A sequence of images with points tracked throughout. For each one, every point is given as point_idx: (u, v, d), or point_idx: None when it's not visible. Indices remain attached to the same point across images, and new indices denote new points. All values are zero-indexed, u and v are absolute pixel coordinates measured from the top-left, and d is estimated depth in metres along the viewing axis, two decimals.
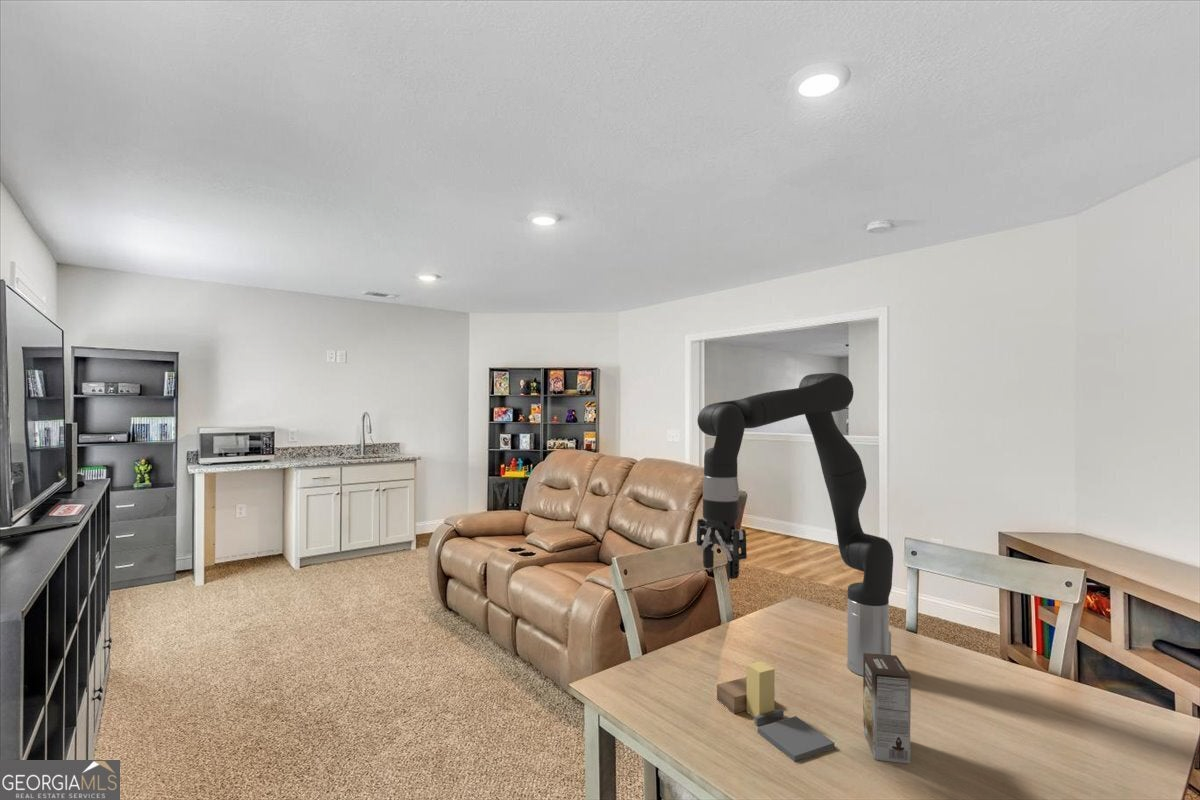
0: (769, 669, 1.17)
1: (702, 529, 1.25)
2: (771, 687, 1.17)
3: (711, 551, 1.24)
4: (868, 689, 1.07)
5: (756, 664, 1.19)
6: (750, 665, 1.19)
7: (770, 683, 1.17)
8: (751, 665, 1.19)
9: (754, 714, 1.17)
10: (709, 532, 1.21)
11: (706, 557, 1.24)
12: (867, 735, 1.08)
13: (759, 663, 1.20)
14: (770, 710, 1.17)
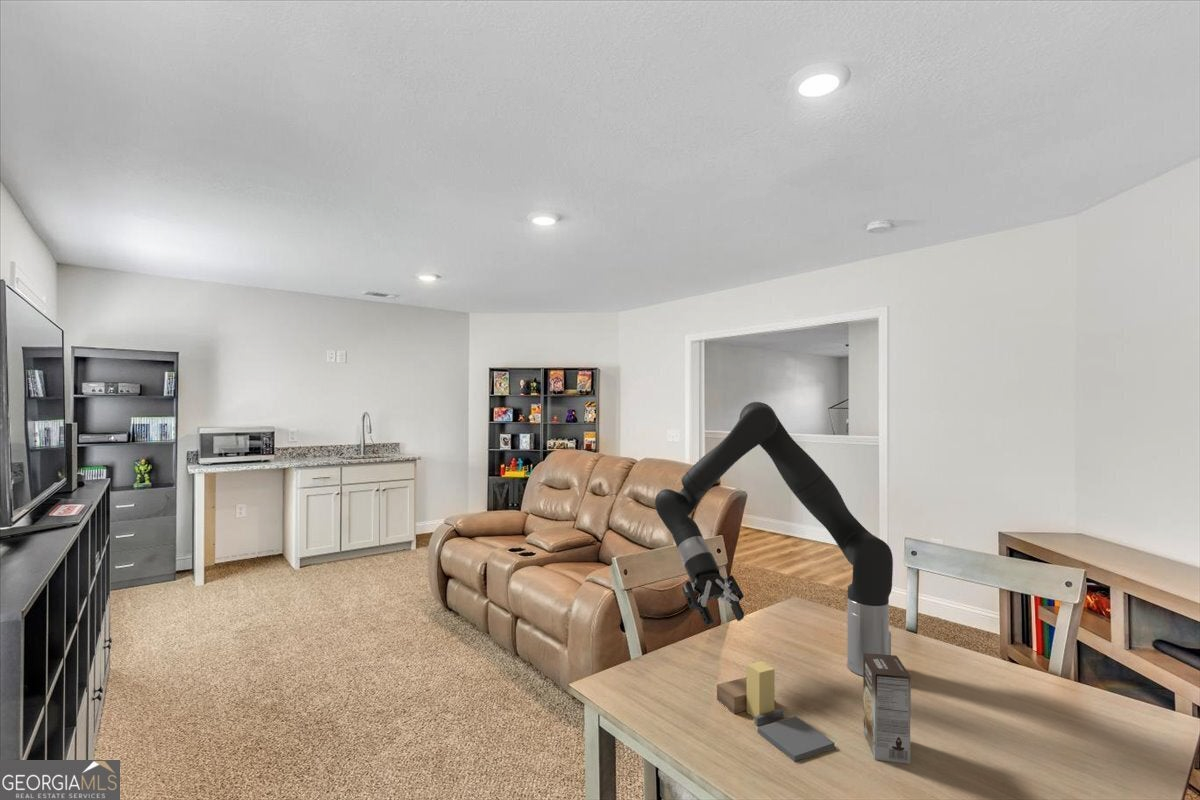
0: (769, 669, 1.17)
1: (729, 587, 1.37)
2: (771, 687, 1.17)
3: (734, 603, 1.32)
4: (868, 689, 1.07)
5: (756, 664, 1.19)
6: (750, 665, 1.19)
7: (770, 683, 1.17)
8: (751, 665, 1.19)
9: (754, 714, 1.17)
10: None
11: (733, 611, 1.33)
12: (867, 735, 1.08)
13: (759, 663, 1.20)
14: (770, 710, 1.17)
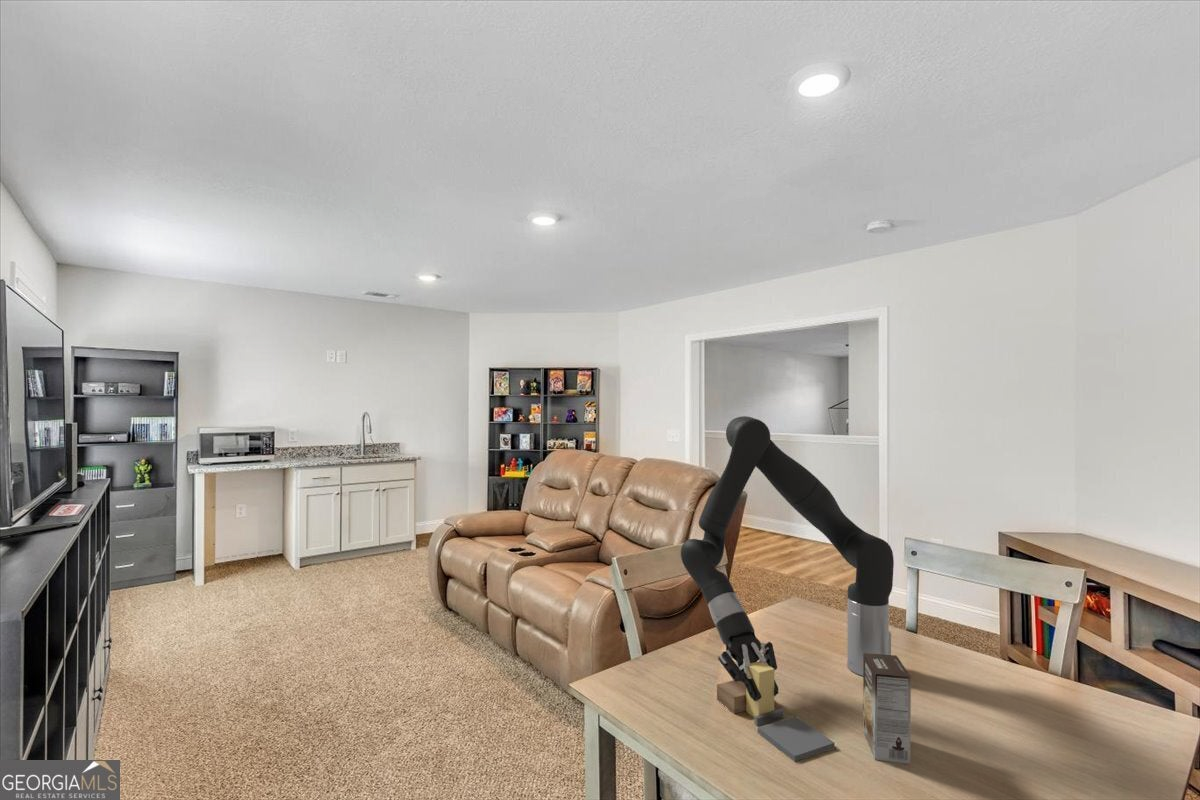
0: (768, 668, 1.17)
1: (764, 654, 1.24)
2: (771, 687, 1.17)
3: None
4: (868, 689, 1.07)
5: (756, 664, 1.19)
6: (750, 665, 1.19)
7: (770, 683, 1.17)
8: (751, 665, 1.19)
9: (754, 714, 1.17)
10: None
11: None
12: (867, 735, 1.08)
13: (758, 663, 1.20)
14: (770, 710, 1.17)
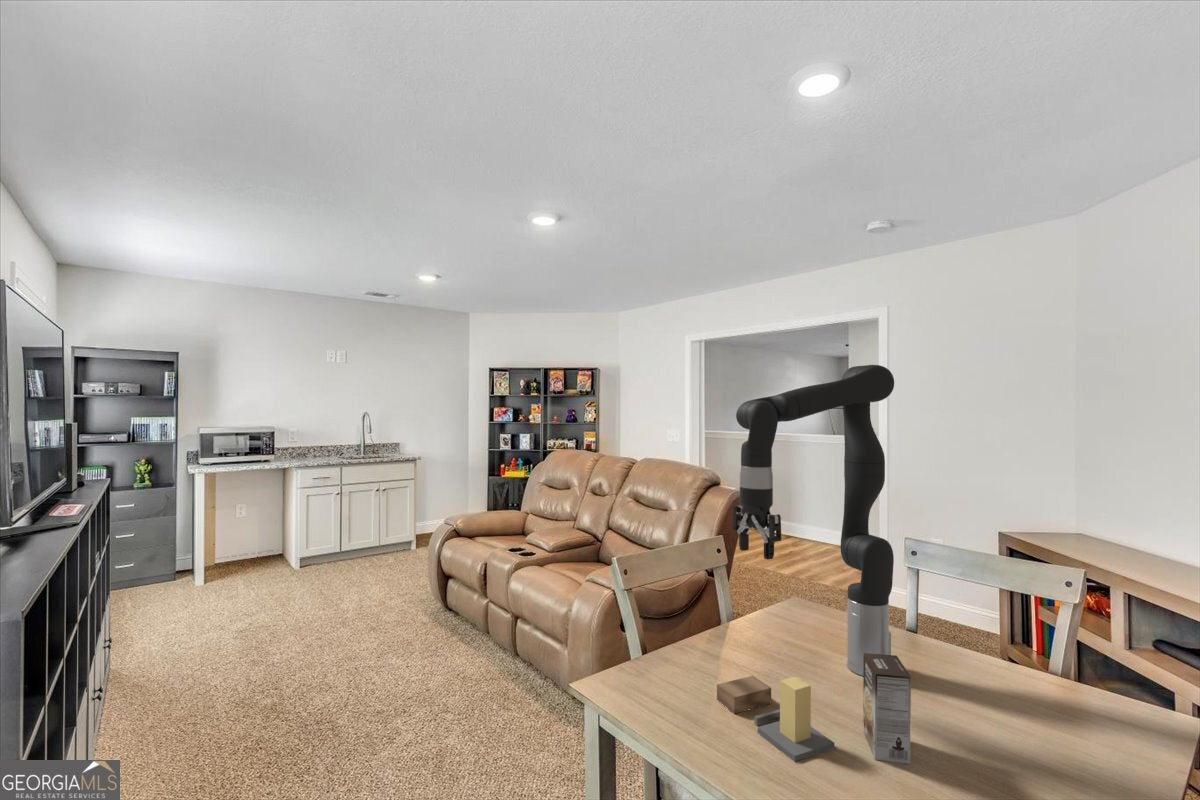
0: (804, 685, 1.08)
1: (738, 515, 1.37)
2: (807, 705, 1.08)
3: (746, 535, 1.36)
4: (868, 689, 1.07)
5: (790, 680, 1.10)
6: (784, 681, 1.10)
7: (806, 701, 1.08)
8: (785, 681, 1.10)
9: (789, 735, 1.08)
10: (745, 517, 1.32)
11: (742, 540, 1.35)
12: (867, 735, 1.08)
13: (793, 678, 1.11)
14: (806, 730, 1.08)
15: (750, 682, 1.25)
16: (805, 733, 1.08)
